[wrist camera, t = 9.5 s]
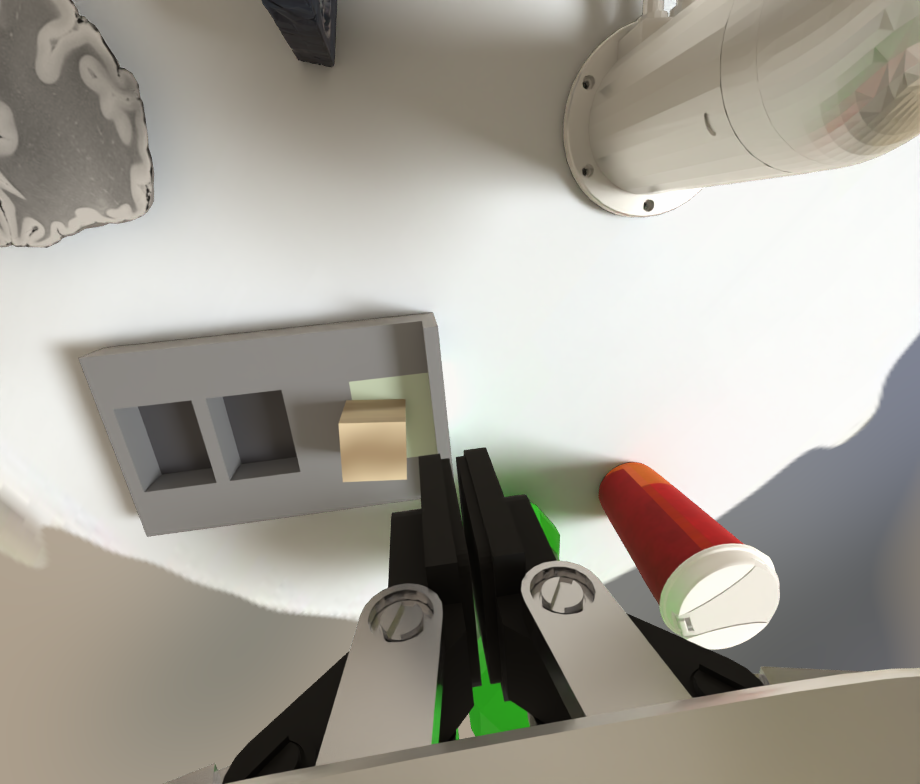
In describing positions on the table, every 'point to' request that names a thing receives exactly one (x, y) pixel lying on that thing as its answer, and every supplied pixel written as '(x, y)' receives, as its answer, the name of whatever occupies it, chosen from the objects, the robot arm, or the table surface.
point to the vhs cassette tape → (307, 27)
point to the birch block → (373, 440)
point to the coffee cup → (689, 560)
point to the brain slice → (66, 128)
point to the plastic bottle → (488, 698)
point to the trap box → (263, 418)
